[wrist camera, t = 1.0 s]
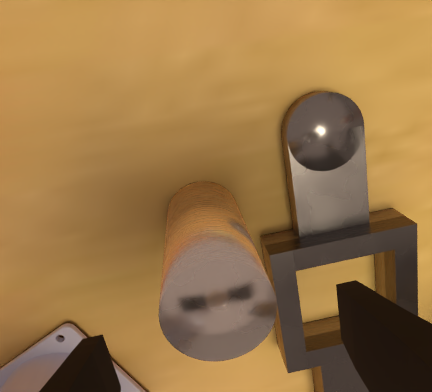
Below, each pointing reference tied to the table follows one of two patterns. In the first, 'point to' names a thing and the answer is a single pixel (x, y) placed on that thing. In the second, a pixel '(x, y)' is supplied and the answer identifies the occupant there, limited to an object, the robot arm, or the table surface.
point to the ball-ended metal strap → (332, 234)
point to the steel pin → (212, 278)
